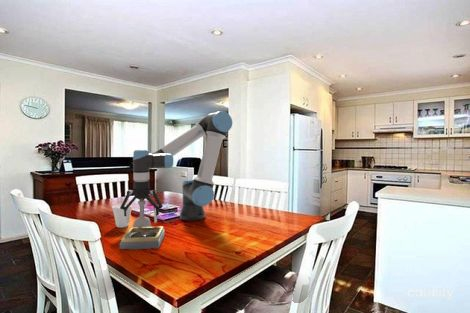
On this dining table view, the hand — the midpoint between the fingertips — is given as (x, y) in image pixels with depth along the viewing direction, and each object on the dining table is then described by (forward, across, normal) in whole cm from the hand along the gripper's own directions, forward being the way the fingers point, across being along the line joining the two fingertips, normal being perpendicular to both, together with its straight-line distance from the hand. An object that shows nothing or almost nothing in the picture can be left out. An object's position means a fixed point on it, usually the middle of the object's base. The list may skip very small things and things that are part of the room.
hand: (141, 222), depth 132 cm
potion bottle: (+5, 0, 0) cm, 5 cm away
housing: (+5, -4, +14) cm, 15 cm away
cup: (+5, +13, -11) cm, 18 cm away
